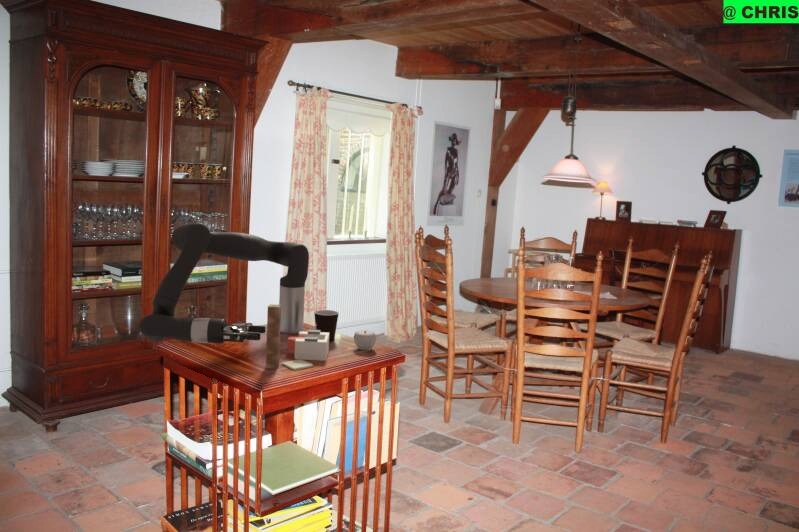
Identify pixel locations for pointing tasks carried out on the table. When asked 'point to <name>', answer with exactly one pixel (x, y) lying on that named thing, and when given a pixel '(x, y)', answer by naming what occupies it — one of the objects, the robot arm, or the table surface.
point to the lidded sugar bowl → (364, 339)
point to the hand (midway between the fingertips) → (262, 333)
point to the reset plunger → (292, 342)
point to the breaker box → (312, 345)
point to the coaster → (297, 364)
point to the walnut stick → (273, 336)
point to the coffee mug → (326, 322)
